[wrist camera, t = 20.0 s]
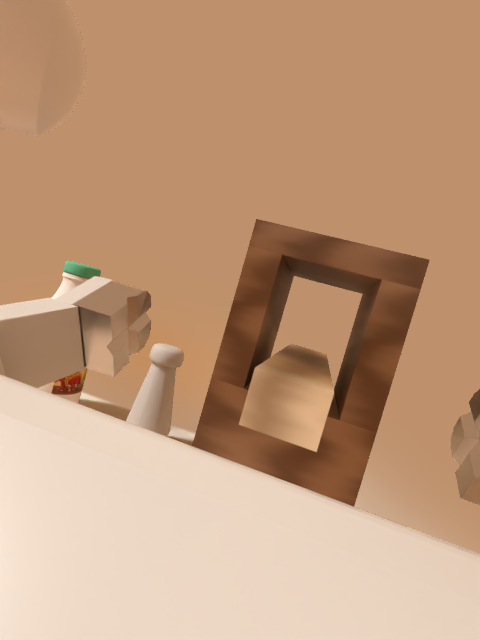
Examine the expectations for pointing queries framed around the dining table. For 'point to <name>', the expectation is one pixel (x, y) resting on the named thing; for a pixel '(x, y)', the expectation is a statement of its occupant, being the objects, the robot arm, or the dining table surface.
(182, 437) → the dining table surface
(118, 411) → the dining table surface
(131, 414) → the salt shaker
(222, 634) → the robot arm
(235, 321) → the walnut cabinet
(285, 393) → the pine bar
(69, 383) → the milk bottle
